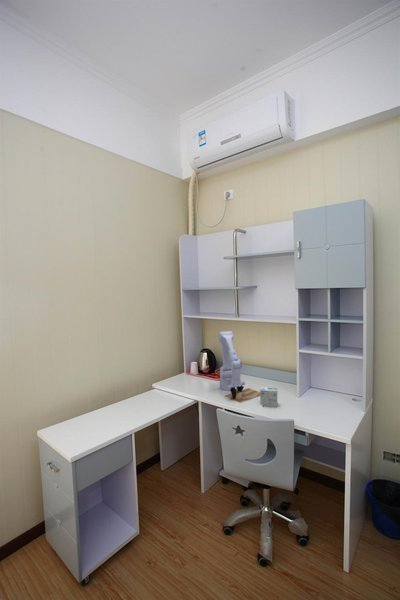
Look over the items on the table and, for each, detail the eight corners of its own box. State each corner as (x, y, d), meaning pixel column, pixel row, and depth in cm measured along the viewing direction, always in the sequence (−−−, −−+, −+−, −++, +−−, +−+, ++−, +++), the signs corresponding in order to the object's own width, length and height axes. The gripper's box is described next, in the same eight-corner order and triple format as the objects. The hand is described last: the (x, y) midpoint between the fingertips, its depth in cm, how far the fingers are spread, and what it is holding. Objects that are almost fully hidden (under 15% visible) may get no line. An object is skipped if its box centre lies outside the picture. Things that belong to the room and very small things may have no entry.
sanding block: (231, 397, 209) (230, 391, 209) (235, 395, 211) (235, 389, 211) (238, 399, 203) (237, 394, 203) (242, 398, 205) (242, 392, 205)
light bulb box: (277, 403, 199) (277, 387, 198) (277, 407, 192) (277, 390, 192) (260, 402, 202) (260, 386, 201) (260, 406, 195) (259, 389, 194)
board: (224, 397, 211) (224, 395, 211) (248, 389, 225) (248, 388, 225) (240, 404, 198) (240, 402, 198) (265, 395, 212) (265, 394, 212)
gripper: (232, 381, 199) (232, 401, 200) (248, 376, 207) (248, 396, 208) (225, 378, 204) (225, 398, 205) (240, 374, 213) (241, 393, 214)
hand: (236, 397), depth 207 cm, fingers closed on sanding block, 4 cm apart
